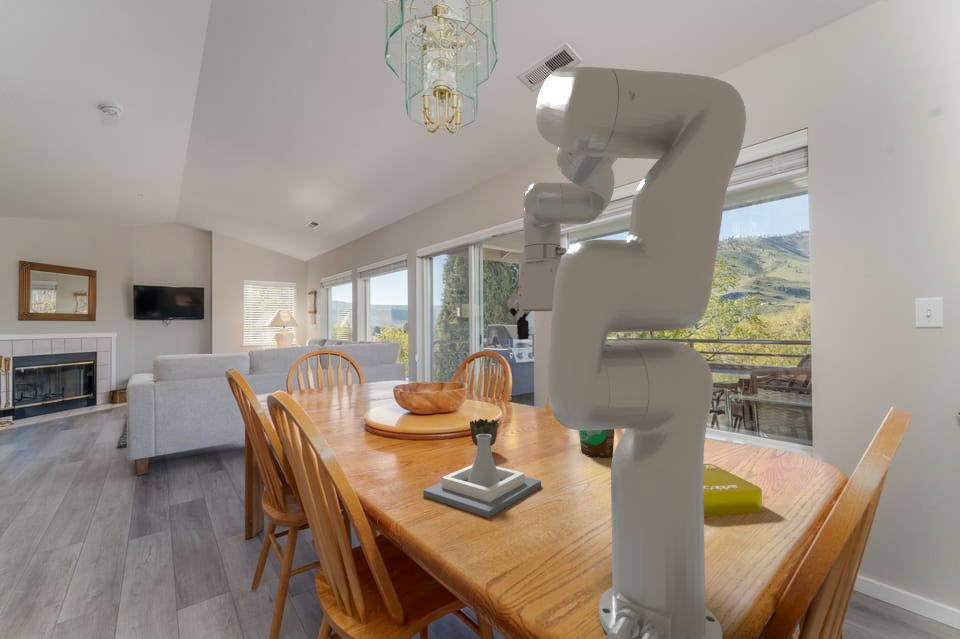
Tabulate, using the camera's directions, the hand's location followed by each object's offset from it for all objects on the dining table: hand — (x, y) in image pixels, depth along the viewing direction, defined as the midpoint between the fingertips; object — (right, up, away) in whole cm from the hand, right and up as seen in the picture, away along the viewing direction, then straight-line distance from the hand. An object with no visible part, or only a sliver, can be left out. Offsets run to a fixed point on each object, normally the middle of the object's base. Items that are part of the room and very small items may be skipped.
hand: (543, 339), depth 89 cm
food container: (+15, -31, +22) cm, 41 cm away
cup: (-12, -31, +25) cm, 41 cm away
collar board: (-12, -30, -2) cm, 33 cm away
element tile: (+29, -31, -6) cm, 43 cm away
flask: (-12, -29, -2) cm, 32 cm away
